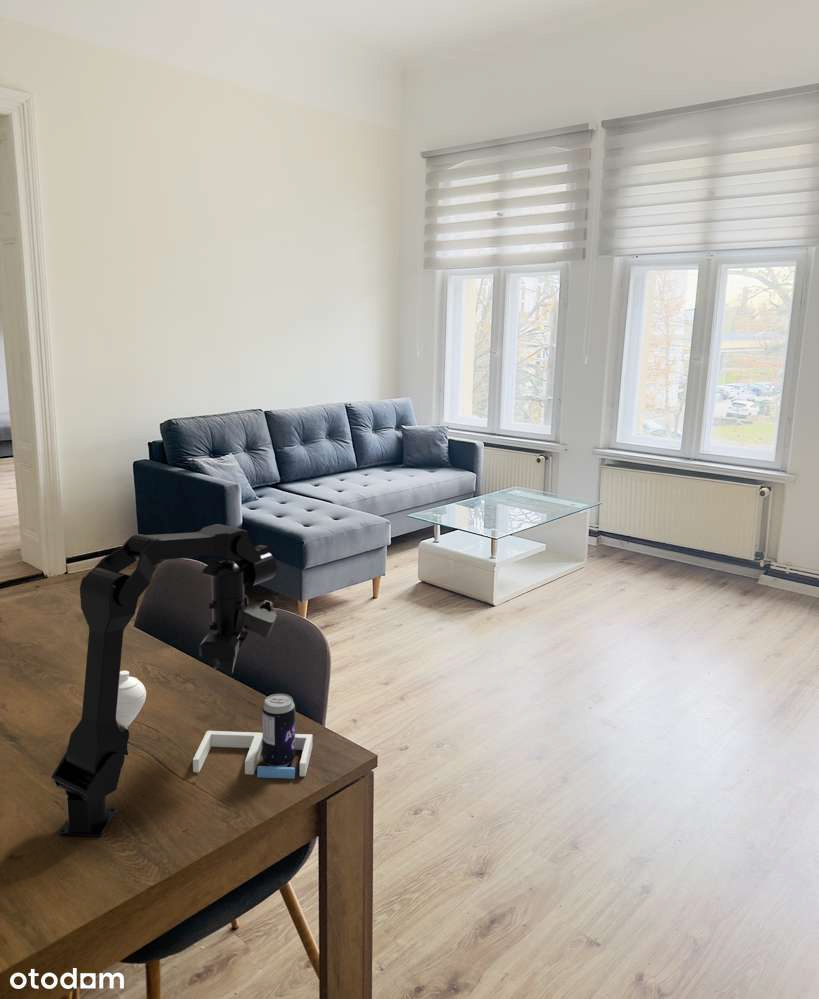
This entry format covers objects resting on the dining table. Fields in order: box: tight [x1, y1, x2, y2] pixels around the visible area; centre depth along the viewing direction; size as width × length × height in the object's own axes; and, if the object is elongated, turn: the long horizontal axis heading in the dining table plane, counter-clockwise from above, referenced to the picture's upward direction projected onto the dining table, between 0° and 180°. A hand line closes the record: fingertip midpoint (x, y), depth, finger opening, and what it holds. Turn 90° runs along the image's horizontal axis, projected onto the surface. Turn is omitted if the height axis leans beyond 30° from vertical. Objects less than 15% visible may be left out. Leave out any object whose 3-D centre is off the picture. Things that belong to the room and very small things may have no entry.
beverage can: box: [261, 693, 296, 767], centre depth 141 cm, size 6×6×12 cm
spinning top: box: [116, 670, 147, 729], centre depth 149 cm, size 8×8×12 cm
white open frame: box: [192, 730, 313, 780], centre depth 142 cm, size 10×20×2 cm, turn 90°
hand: (229, 673), depth 146 cm, fingers closed
